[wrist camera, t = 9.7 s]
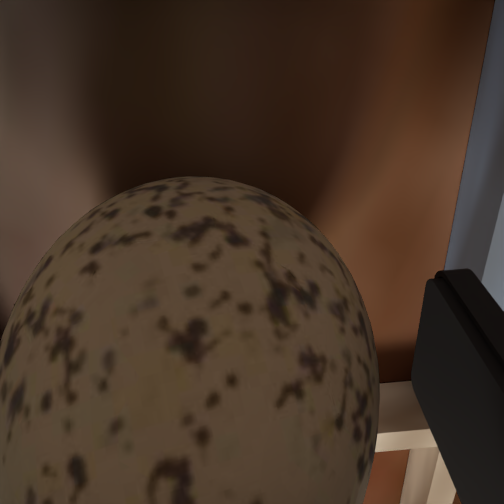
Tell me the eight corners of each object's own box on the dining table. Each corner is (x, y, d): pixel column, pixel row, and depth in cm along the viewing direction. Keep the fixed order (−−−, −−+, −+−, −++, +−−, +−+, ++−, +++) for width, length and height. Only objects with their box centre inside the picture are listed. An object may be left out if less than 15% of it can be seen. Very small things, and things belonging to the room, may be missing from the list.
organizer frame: (574, -148, 9) (656, -170, 7) (404, 572, 25) (417, 617, 24) (-268, -74, 9) (-384, -80, 7) (111, 599, 25) (102, 645, 24)
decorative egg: (192, 367, 16) (158, 829, 8) (16, 229, 13) (-380, 787, 4) (375, 258, 14) (602, 742, 5) (220, 55, 10) (206, 518, 2)
